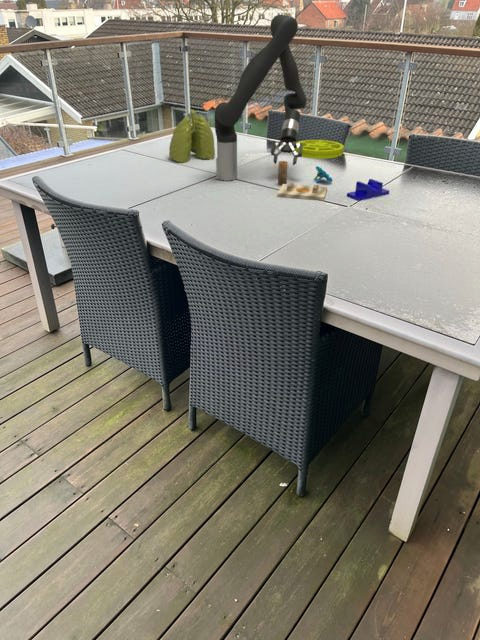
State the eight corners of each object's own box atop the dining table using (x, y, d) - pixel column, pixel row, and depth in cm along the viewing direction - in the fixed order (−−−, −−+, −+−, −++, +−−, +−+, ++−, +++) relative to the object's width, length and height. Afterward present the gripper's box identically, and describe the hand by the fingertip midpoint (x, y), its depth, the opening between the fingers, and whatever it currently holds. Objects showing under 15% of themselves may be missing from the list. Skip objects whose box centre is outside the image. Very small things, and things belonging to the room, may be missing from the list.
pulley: (350, 151, 281) (351, 142, 278) (330, 161, 261) (331, 152, 258) (306, 145, 293) (307, 136, 290) (284, 154, 273) (285, 145, 271)
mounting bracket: (377, 190, 219) (379, 177, 216) (388, 194, 214) (391, 181, 211) (346, 197, 211) (348, 183, 208) (357, 201, 206) (359, 187, 203)
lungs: (208, 152, 276) (206, 106, 263) (218, 159, 264) (217, 111, 251) (165, 157, 267) (162, 110, 254) (174, 164, 255) (171, 115, 242)
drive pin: (276, 185, 224) (277, 163, 219) (278, 182, 227) (279, 161, 222) (285, 186, 223) (286, 163, 218) (287, 183, 227) (288, 161, 221)
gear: (336, 181, 224) (322, 166, 220) (327, 191, 225) (313, 176, 221) (327, 177, 234) (313, 163, 230) (318, 187, 235) (305, 173, 231)
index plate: (277, 196, 210) (277, 188, 209) (282, 187, 222) (283, 179, 220) (323, 200, 206) (324, 192, 204) (327, 190, 218) (327, 182, 216)
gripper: (273, 126, 225) (268, 158, 222) (304, 127, 222) (299, 160, 219) (275, 136, 232) (270, 166, 229) (305, 137, 229) (300, 168, 226)
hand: (284, 163), depth 224 cm, fingers open, 8 cm apart
